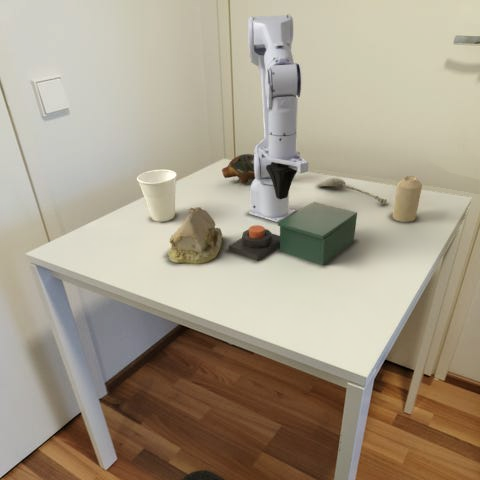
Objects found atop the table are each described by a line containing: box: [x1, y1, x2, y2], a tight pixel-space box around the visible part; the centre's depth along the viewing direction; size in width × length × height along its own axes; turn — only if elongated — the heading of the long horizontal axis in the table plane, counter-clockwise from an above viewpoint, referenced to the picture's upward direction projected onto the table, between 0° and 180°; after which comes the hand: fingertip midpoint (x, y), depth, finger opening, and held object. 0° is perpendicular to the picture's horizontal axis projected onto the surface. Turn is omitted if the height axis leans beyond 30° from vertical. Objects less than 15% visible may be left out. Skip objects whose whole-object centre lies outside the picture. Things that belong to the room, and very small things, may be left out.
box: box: [279, 215, 358, 267], centre depth 100 cm, size 14×11×6 cm
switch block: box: [228, 228, 280, 262], centre depth 102 cm, size 8×10×3 cm
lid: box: [277, 201, 358, 239], centre depth 98 cm, size 14×11×1 cm
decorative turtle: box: [221, 153, 255, 185], centre depth 135 cm, size 10×15×8 cm, turn 101°
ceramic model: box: [167, 206, 223, 265], centre depth 100 cm, size 14×11×10 cm
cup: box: [136, 169, 178, 223], centre depth 115 cm, size 10×10×11 cm
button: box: [248, 224, 266, 239], centre depth 101 cm, size 4×4×2 cm
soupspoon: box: [319, 177, 388, 206], centre depth 125 cm, size 22×3×7 cm
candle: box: [392, 175, 423, 223], centre depth 109 cm, size 6×6×10 cm
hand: (281, 197), depth 99 cm, fingers closed
